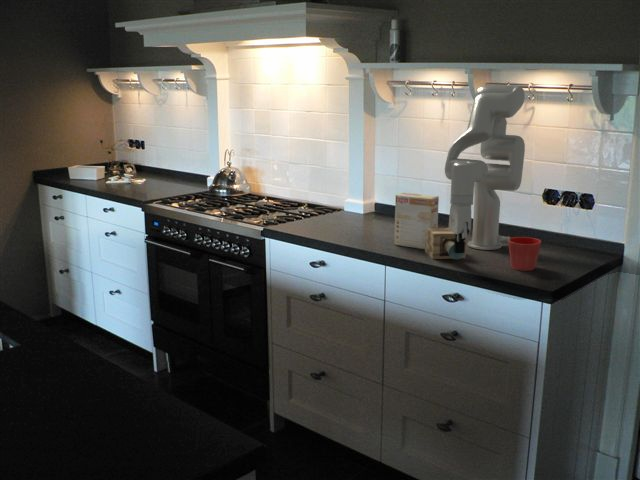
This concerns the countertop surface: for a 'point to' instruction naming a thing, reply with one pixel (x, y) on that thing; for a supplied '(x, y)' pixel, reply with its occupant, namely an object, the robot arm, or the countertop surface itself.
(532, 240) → the flower pot
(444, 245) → the peg
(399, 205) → the coffeecake box
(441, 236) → the block
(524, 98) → the robot arm
